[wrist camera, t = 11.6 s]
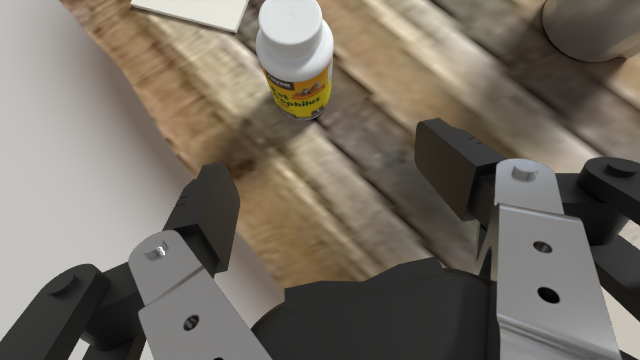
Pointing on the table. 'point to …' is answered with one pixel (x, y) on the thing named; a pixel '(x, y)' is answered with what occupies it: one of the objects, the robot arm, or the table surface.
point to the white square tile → (200, 11)
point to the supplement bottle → (296, 56)
